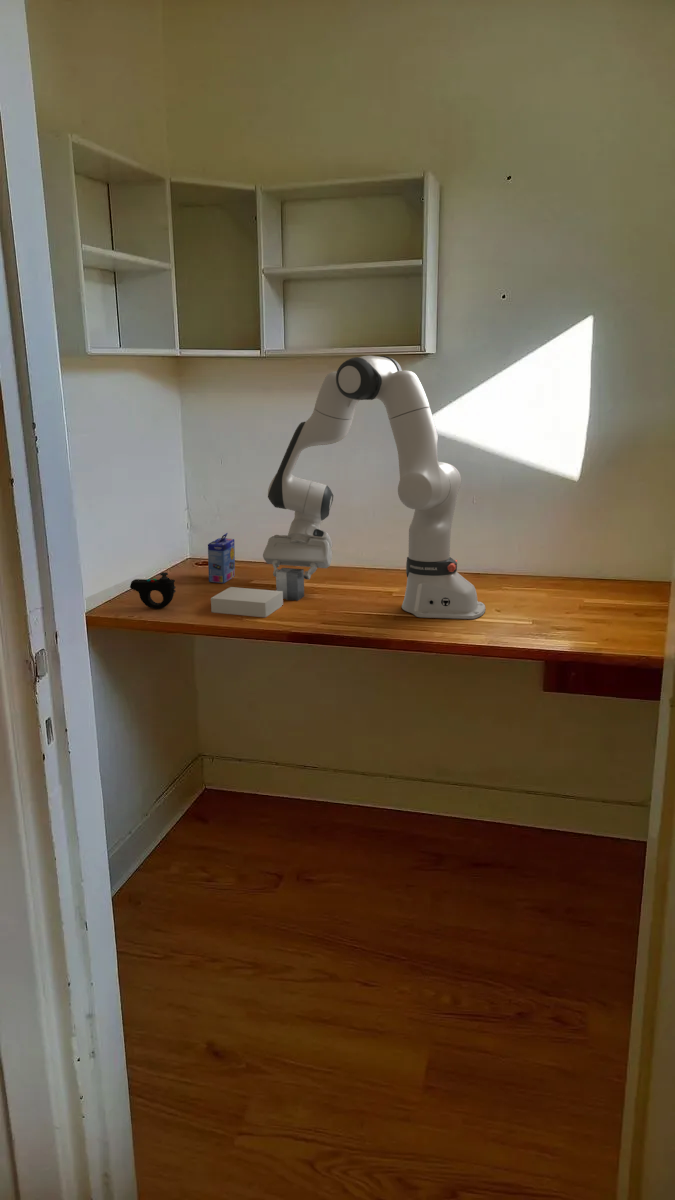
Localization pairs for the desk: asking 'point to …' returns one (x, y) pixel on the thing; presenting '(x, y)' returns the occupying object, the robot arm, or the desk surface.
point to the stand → (247, 602)
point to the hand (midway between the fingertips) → (291, 577)
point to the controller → (161, 585)
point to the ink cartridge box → (221, 560)
